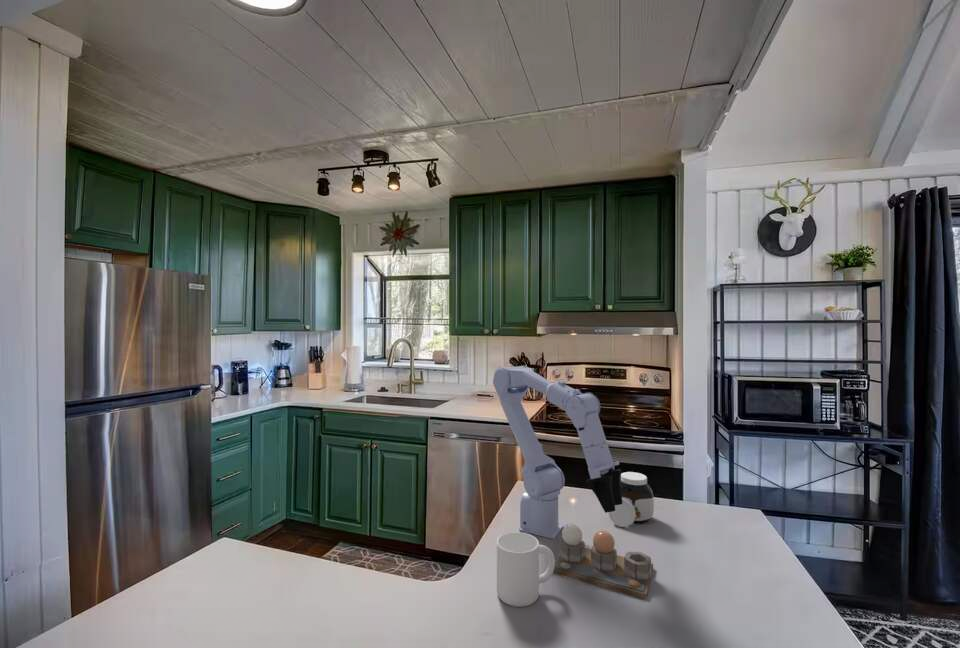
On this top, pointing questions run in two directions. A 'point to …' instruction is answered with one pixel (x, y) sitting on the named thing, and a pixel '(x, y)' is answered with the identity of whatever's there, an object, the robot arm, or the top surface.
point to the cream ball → (572, 534)
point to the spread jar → (633, 501)
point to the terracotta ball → (603, 542)
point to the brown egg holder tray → (606, 568)
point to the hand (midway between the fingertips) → (614, 508)
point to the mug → (520, 568)
